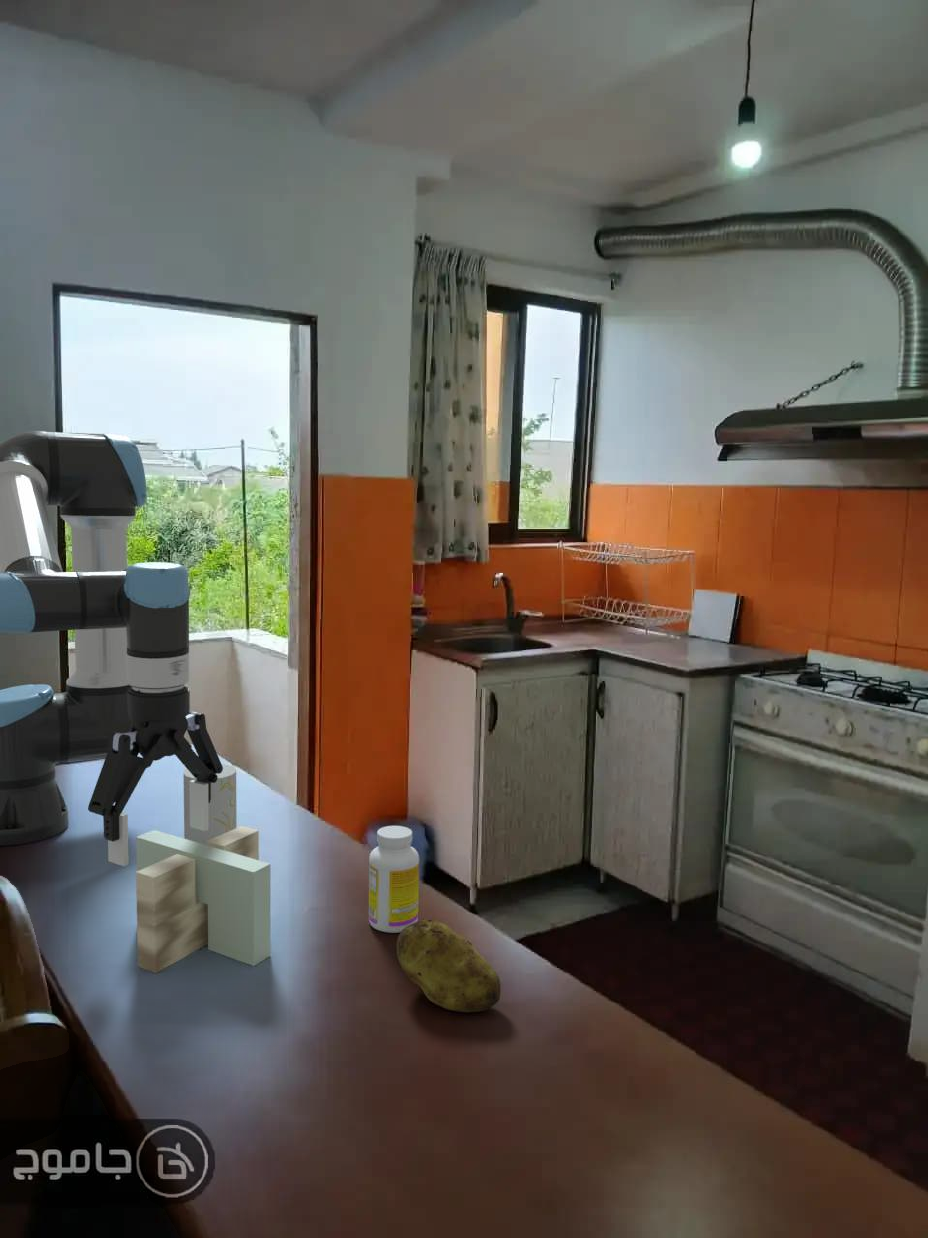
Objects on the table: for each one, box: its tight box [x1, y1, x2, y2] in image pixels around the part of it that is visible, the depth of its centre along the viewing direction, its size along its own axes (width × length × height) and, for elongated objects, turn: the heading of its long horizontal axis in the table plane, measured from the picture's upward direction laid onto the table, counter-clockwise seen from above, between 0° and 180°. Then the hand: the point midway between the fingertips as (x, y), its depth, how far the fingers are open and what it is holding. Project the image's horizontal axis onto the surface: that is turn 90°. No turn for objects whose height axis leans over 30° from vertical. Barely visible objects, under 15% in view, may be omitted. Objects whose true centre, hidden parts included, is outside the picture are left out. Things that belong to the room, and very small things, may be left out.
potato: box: [396, 919, 501, 1013], centre depth 107 cm, size 8×13×8 cm, turn 38°
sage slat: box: [135, 829, 271, 967], centre depth 119 cm, size 20×3×12 cm, turn 61°
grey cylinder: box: [182, 763, 238, 845], centre depth 150 cm, size 8×8×12 cm
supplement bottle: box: [368, 825, 420, 934], centre depth 125 cm, size 7×7×13 cm
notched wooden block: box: [135, 825, 260, 974], centre depth 119 cm, size 18×3×12 cm, turn 151°
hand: (160, 845), depth 122 cm, fingers open, 13 cm apart
